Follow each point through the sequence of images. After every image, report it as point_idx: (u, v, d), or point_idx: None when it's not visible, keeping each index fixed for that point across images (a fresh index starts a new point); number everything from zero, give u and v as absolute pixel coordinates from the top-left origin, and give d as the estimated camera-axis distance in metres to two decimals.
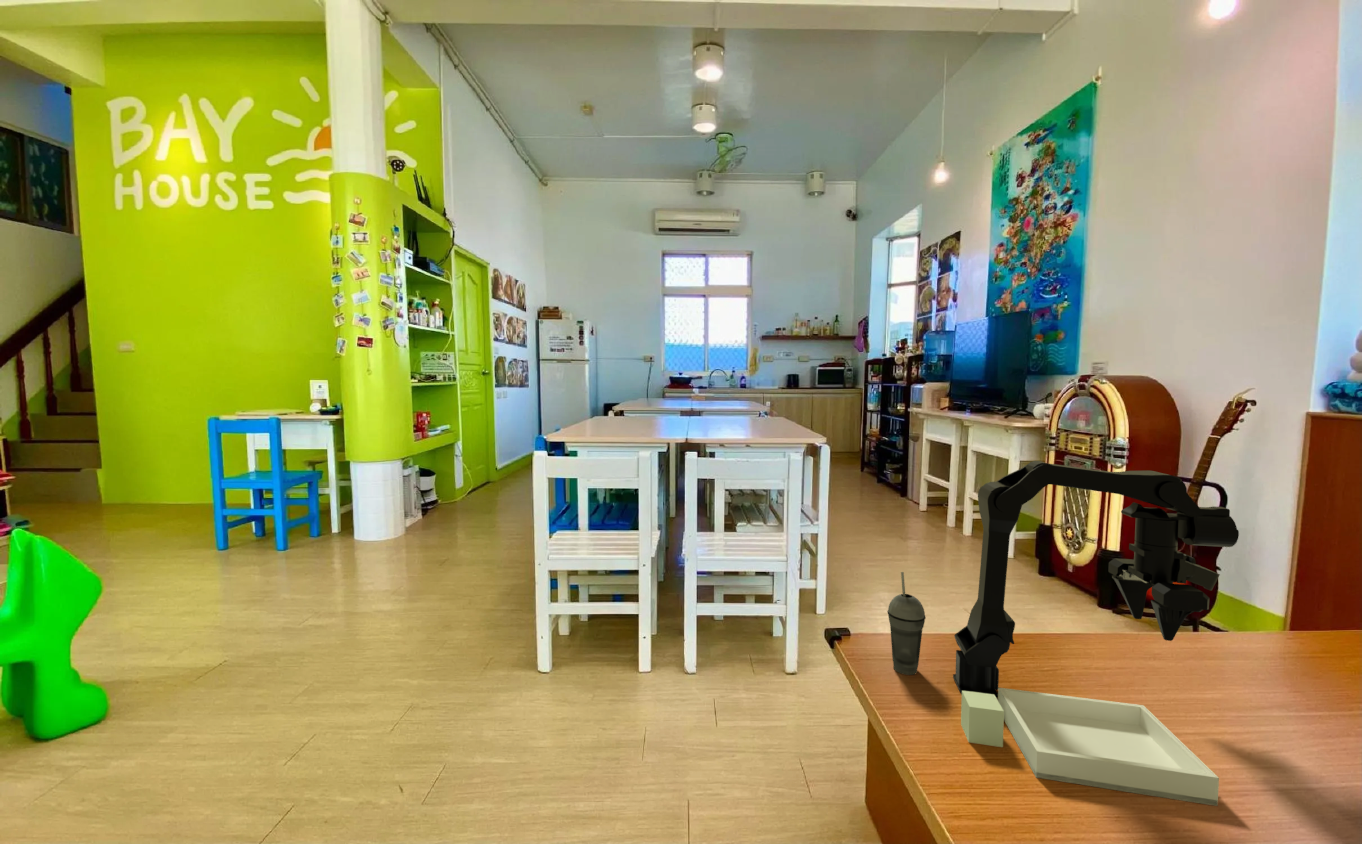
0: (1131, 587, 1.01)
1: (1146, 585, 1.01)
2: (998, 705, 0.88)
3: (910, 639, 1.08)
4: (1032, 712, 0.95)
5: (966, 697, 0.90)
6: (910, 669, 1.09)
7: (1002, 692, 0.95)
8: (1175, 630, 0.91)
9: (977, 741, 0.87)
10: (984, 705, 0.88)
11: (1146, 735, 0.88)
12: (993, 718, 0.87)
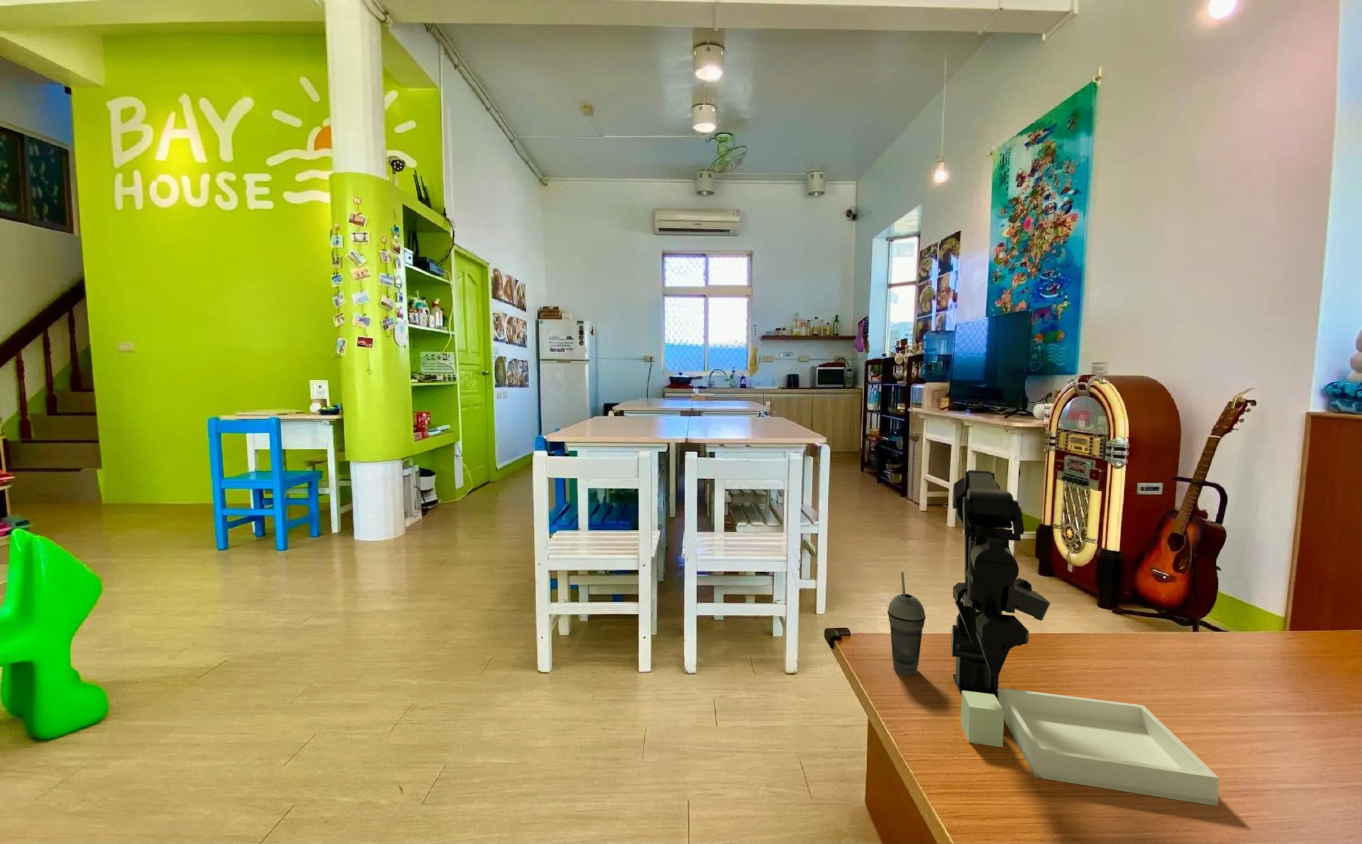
0: (971, 614, 0.94)
1: None
2: (998, 705, 0.88)
3: (910, 639, 1.08)
4: (1032, 712, 0.95)
5: (966, 697, 0.90)
6: (910, 669, 1.09)
7: (1002, 692, 0.95)
8: (1000, 665, 0.84)
9: (977, 741, 0.87)
10: (984, 705, 0.88)
11: (1146, 735, 0.88)
12: (993, 718, 0.87)
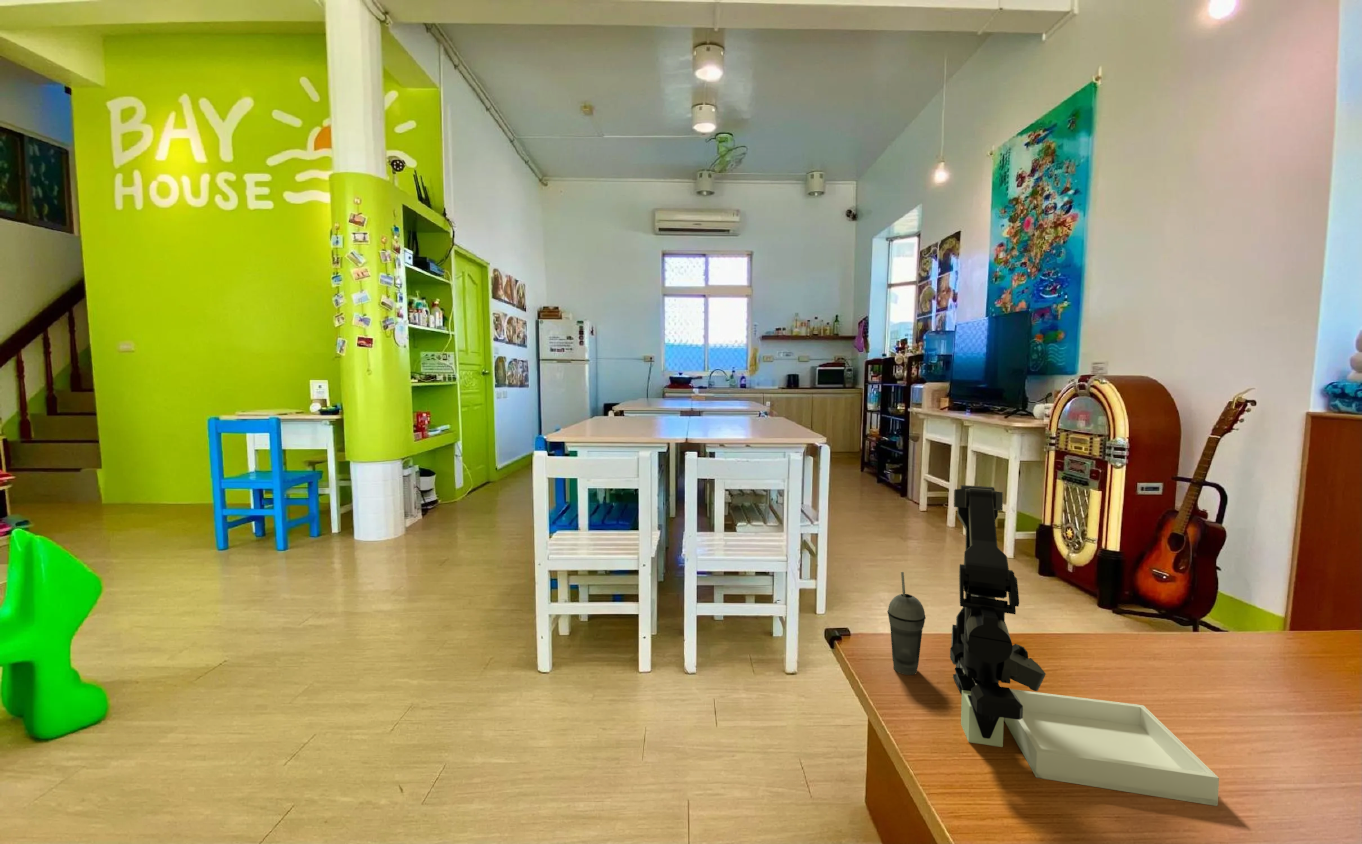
0: (970, 684, 0.92)
1: None
2: None
3: (910, 639, 1.08)
4: (1032, 712, 0.95)
5: (966, 697, 0.90)
6: (910, 669, 1.09)
7: None
8: (991, 728, 0.86)
9: (977, 740, 0.87)
10: None
11: (1146, 735, 0.88)
12: None
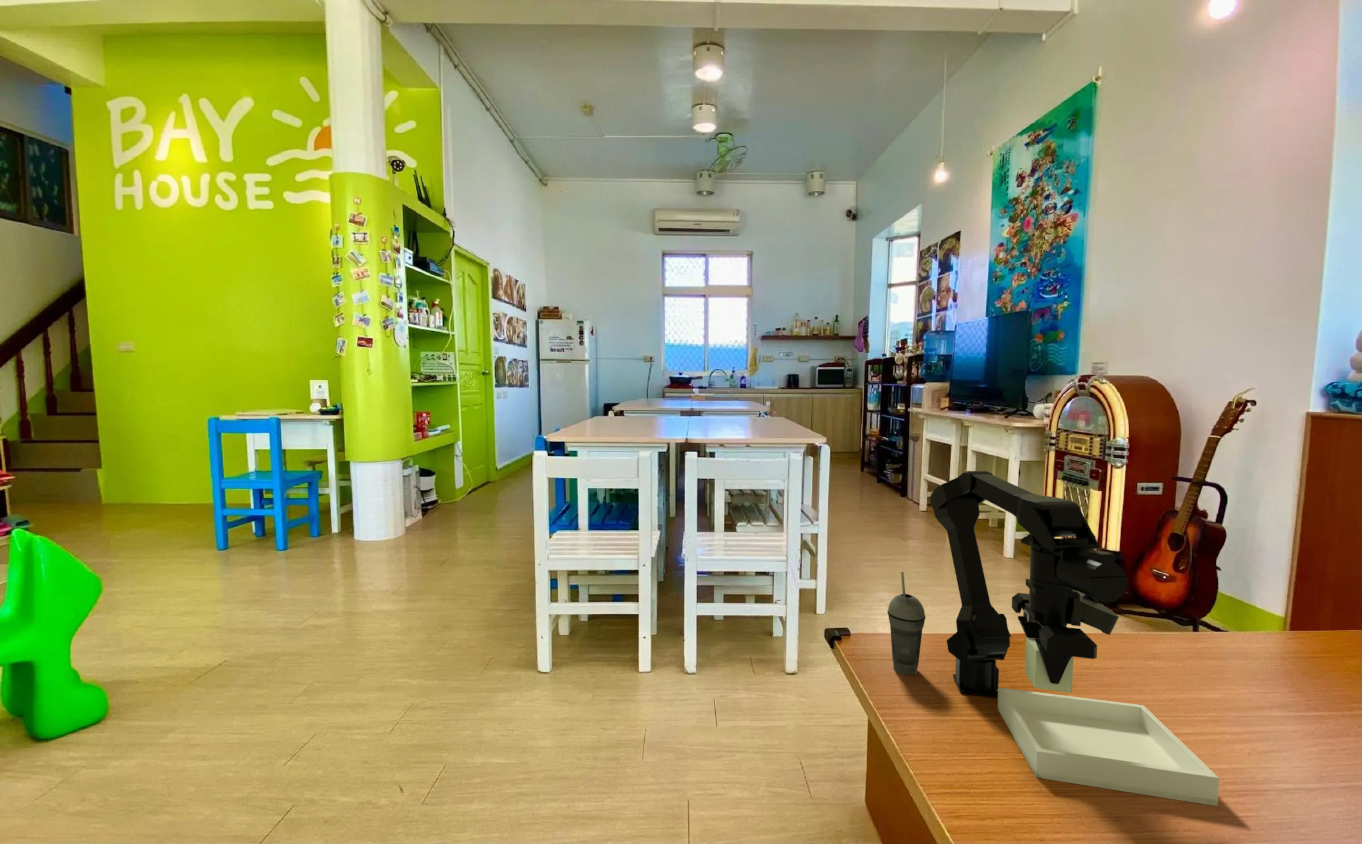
0: (1035, 631, 0.89)
1: None
2: None
3: (910, 639, 1.08)
4: (1032, 712, 0.95)
5: (1031, 643, 0.87)
6: (910, 669, 1.09)
7: (1002, 692, 0.95)
8: (1060, 673, 0.83)
9: (1044, 686, 0.84)
10: None
11: (1146, 735, 0.88)
12: None
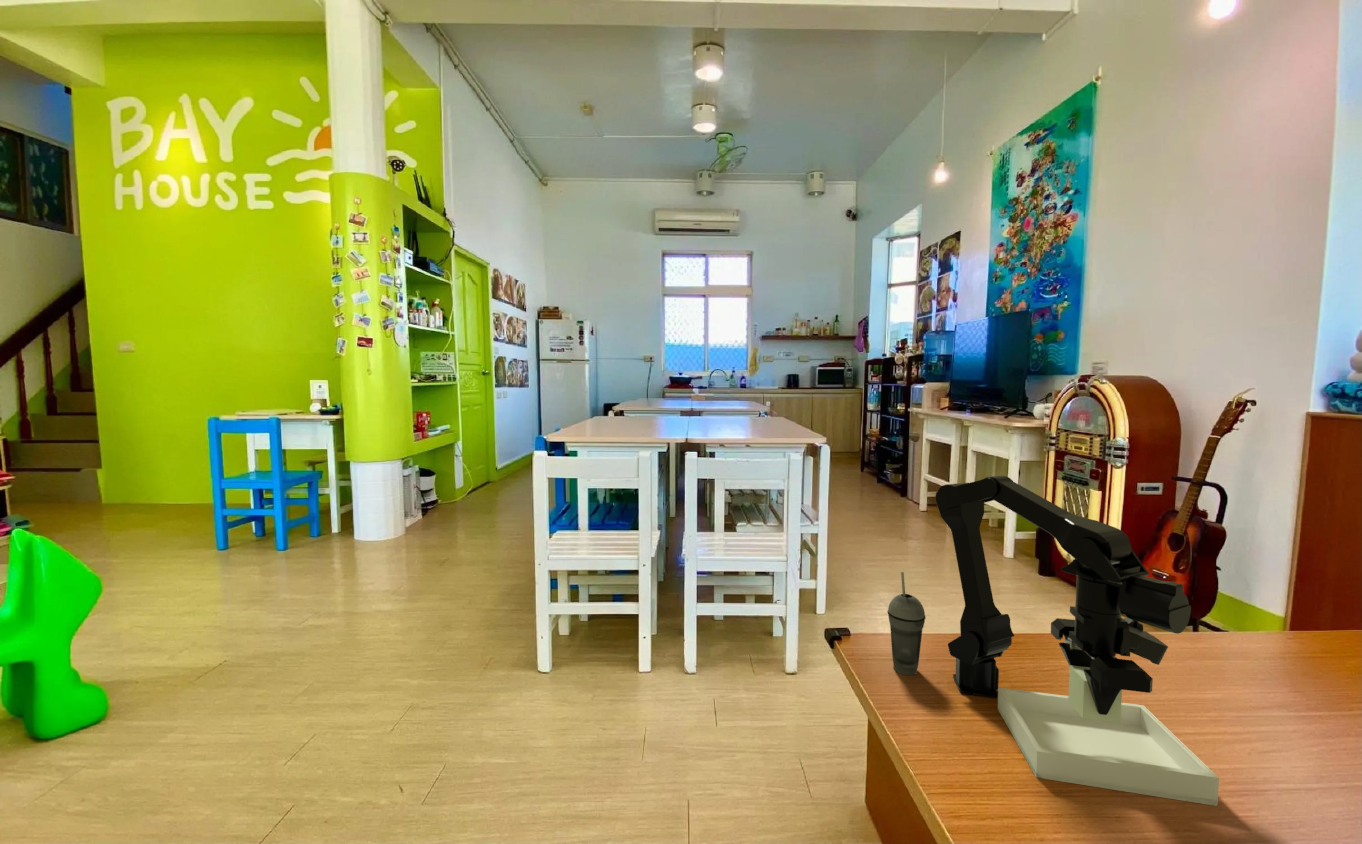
0: (1079, 659, 0.88)
1: None
2: None
3: (910, 639, 1.08)
4: (1032, 712, 0.95)
5: (1077, 671, 0.86)
6: (910, 669, 1.09)
7: (1002, 692, 0.95)
8: (1109, 704, 0.82)
9: (1092, 717, 0.83)
10: None
11: (1146, 735, 0.88)
12: None
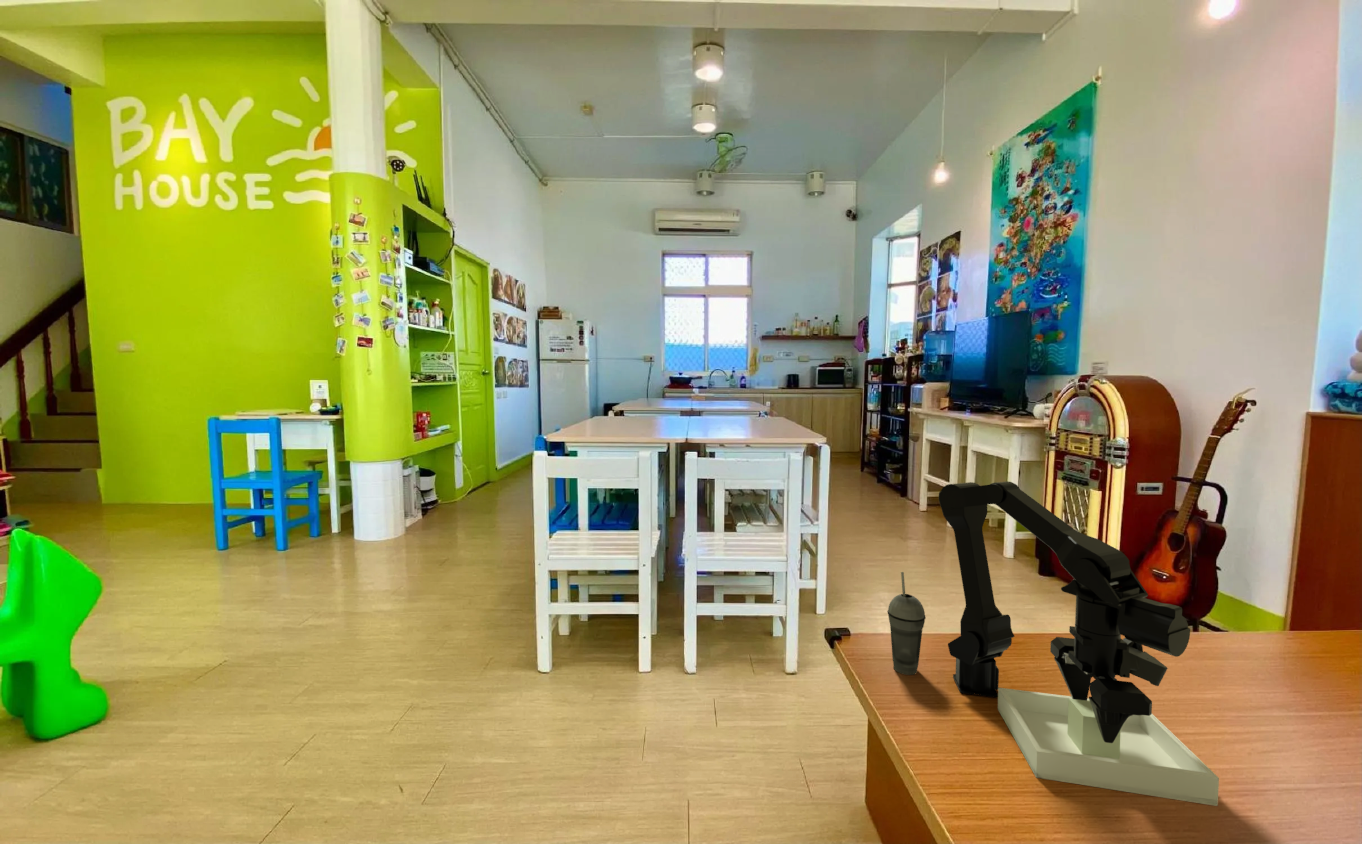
0: (1074, 673, 0.90)
1: None
2: None
3: (910, 639, 1.08)
4: (1032, 712, 0.95)
5: (1076, 706, 0.86)
6: (910, 669, 1.09)
7: (1002, 692, 0.95)
8: (1115, 732, 0.80)
9: (1091, 752, 0.83)
10: None
11: (1146, 735, 0.88)
12: None
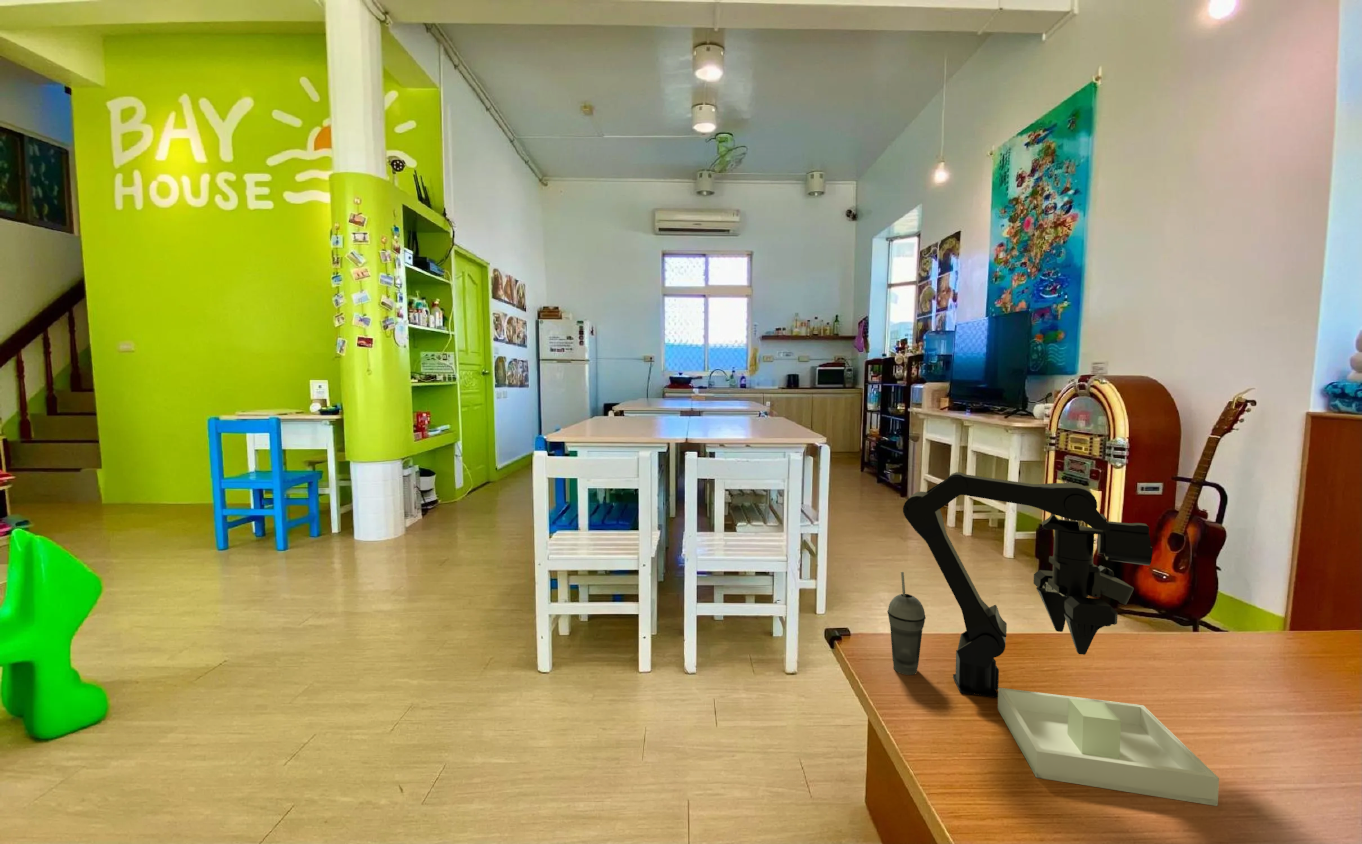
0: (1053, 599, 1.01)
1: (1068, 598, 1.00)
2: (1112, 714, 0.84)
3: (910, 639, 1.08)
4: (1032, 712, 0.95)
5: (1076, 706, 0.86)
6: (910, 669, 1.09)
7: (1002, 692, 0.95)
8: (1087, 644, 0.91)
9: (1091, 752, 0.83)
10: (1098, 714, 0.84)
11: (1146, 735, 0.88)
12: (1109, 728, 0.83)
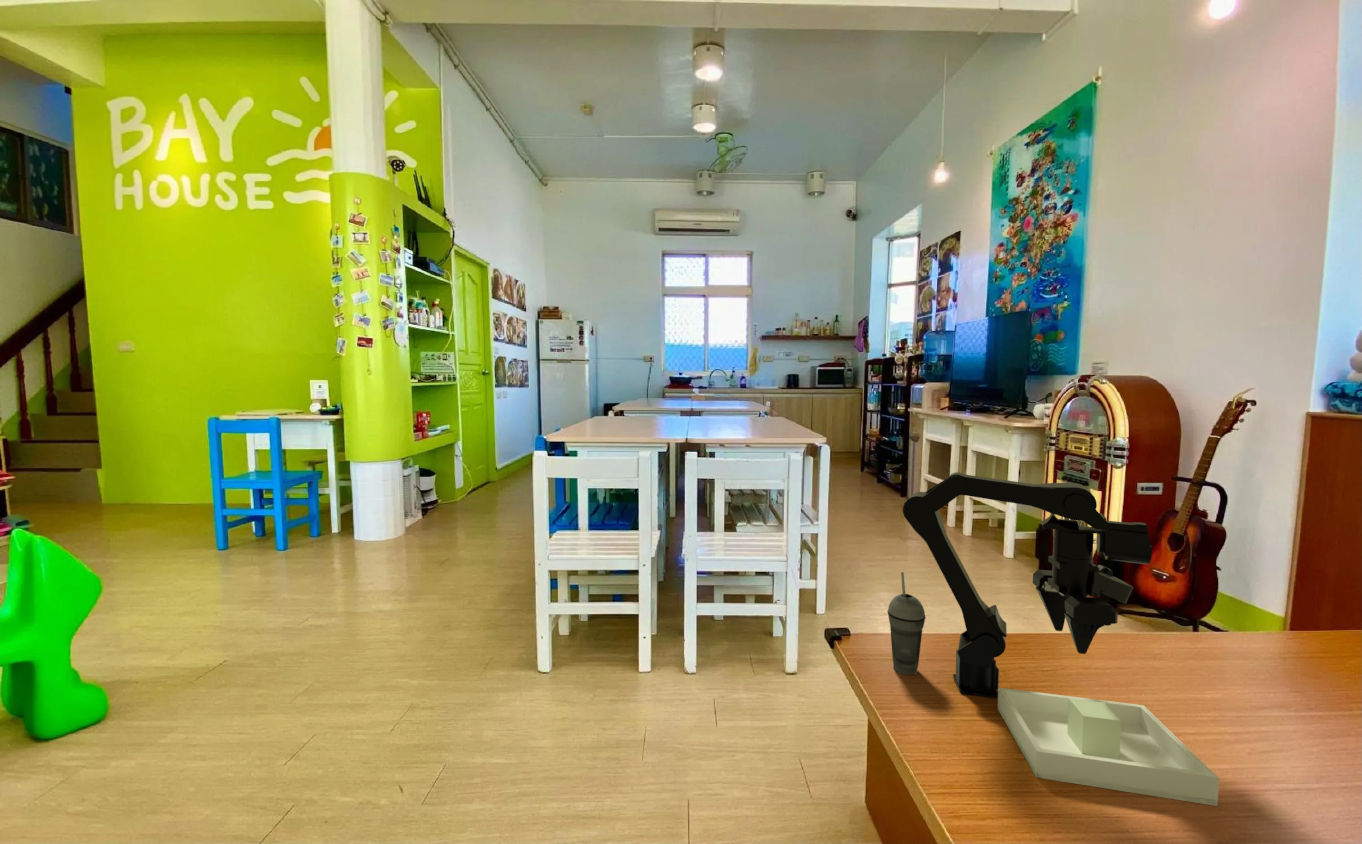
0: (1052, 599, 1.01)
1: (1067, 597, 1.01)
2: (1112, 714, 0.84)
3: (910, 639, 1.08)
4: (1032, 712, 0.95)
5: (1076, 706, 0.86)
6: (910, 669, 1.09)
7: (1002, 692, 0.95)
8: (1087, 644, 0.91)
9: (1091, 752, 0.83)
10: (1098, 714, 0.84)
11: (1146, 735, 0.88)
12: (1109, 728, 0.83)
